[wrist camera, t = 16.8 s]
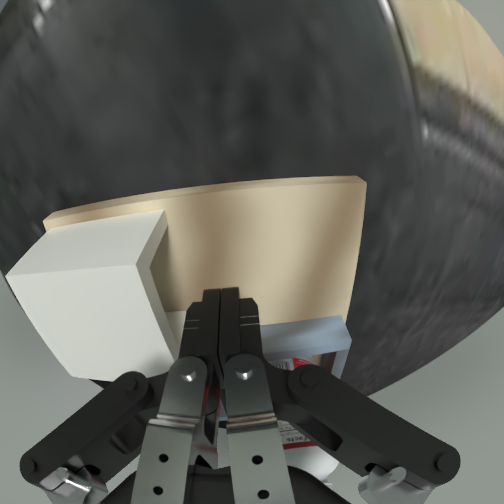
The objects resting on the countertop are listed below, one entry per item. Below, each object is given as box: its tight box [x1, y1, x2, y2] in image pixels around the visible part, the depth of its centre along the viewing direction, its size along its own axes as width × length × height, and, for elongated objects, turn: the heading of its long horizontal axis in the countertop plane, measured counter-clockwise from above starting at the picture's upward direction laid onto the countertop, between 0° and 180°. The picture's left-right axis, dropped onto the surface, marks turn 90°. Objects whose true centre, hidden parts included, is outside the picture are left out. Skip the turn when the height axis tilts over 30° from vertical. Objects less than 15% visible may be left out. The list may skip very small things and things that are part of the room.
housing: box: [5, 209, 186, 381], centre depth 12 cm, size 7×7×4 cm
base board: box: [43, 176, 367, 421], centre depth 16 cm, size 17×18×4 cm
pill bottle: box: [267, 356, 339, 491], centre depth 14 cm, size 6×6×11 cm
